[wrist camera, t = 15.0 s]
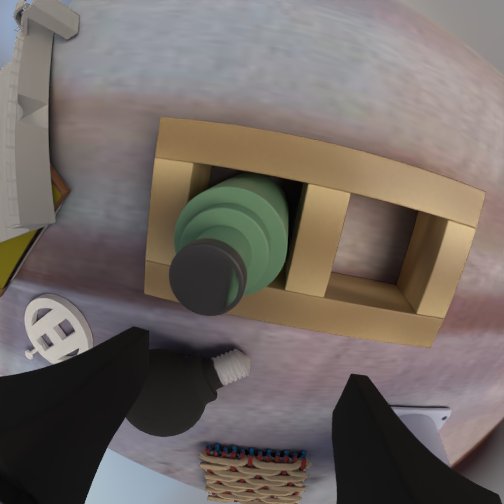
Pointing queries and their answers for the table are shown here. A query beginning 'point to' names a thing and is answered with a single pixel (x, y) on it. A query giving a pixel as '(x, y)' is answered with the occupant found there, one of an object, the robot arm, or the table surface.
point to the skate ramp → (29, 118)
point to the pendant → (56, 329)
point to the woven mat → (253, 476)
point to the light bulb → (182, 389)
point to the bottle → (229, 243)
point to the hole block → (321, 229)
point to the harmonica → (27, 237)
